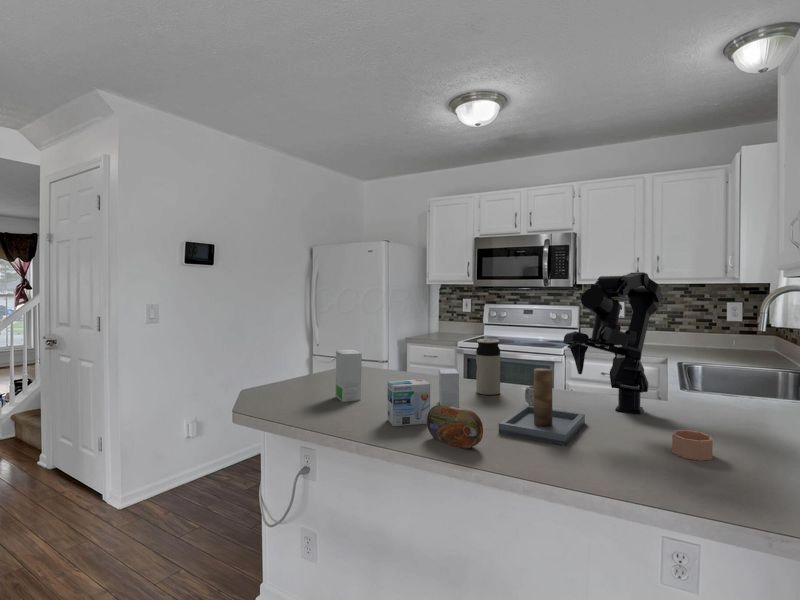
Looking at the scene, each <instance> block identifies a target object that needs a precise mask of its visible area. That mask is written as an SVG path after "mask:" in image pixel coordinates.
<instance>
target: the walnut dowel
mask: <svg viewBox="0 0 800 600" xmlns="http://www.w3.org/2000/svg"><path fill="white" fill-rule="evenodd" d="M533 386H534V425H536V426H540V427H551V426H552V409H553V369H550V368H545V367H544V368H542V367H541V368H540V367H537V368H534V369H533Z"/></svg>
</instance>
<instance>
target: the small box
mask: <svg viewBox="0 0 800 600" xmlns="http://www.w3.org/2000/svg"><path fill="white" fill-rule="evenodd" d="M438 403H439V406H440V405H447V406H451V407H456V408H460V373H459V371H458V370H457V368H439V369H438Z"/></svg>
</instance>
